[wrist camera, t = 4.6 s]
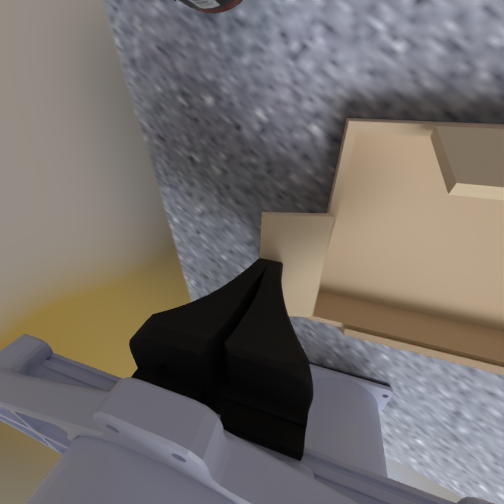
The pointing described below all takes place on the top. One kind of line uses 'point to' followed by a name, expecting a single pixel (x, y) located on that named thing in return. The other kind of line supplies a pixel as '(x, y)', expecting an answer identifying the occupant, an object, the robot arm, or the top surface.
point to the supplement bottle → (211, 5)
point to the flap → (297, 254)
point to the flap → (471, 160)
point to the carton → (412, 249)
